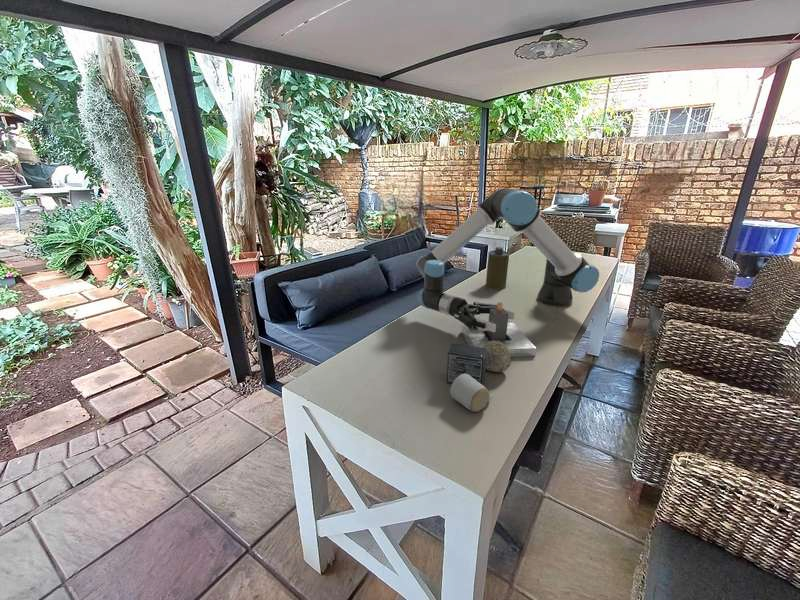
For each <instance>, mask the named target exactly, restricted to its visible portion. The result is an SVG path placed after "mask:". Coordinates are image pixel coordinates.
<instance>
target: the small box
mask: <svg viewBox="0 0 800 600" xmlns="http://www.w3.org/2000/svg"><path fill="white" fill-rule="evenodd" d="M486 352H487V348H481V347H474V346H469V345H468V344H460V343H451V344H450V347H449V348H448V350H447V368H446V372H447V373H446V380H445V381H446V382H445V383H446V384H449V385H452V383H453V381H454V380H455V379H456V378H457V377H458V376H459V375H461V374H468V375H470V376H471V377H472V378H474V379H475V380H476V381H478V382H479V383H480V384H482V385H483V386H484V382H485V373H486V369H485V364H486Z"/></svg>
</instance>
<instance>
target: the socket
mask: <svg viewBox="0 0 800 600" xmlns="http://www.w3.org/2000/svg"><path fill="white" fill-rule="evenodd" d="M487 332H488V330H485V329H482V328H479V327H477V326H476V329H473V326H472V328H468V327H467V326H466V325H465V324H461V334H462V335H463V337H464V339H465V340H466V342H467V345H468V346H474V347H481V348H483V346H484V345H485V344H486V343H487V342H488V341H489V340H488V339H487ZM530 340H531V339H529V338H528V337H527V336H526V335H525V333H523V332H522V331H521V329H520V328H519V327H518V326H517V325H516V324H515V322H508V325H507V334H506V341H499V342H501V343H503V344H504V345H505V346H506V347H507V348H508V349H509V351H510V355H511V358H516V357H517V358H519V357H520V358H521V357H535V356H536V353H537V347H536V346H535V345H534V344H533V343H532V341H530Z"/></svg>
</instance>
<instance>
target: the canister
mask: <svg viewBox="0 0 800 600" xmlns="http://www.w3.org/2000/svg"><path fill="white" fill-rule="evenodd" d="M487 254H488V255H487V268H486V277H485V287H486V288H487V289H492V290H503V289H505V288H506V287H507V278H508V269H509V263H510V261H509V259H510V255H511V254H510V253H509V252H508V251H504V249H503V247H501V246H500V247H498V246H497V247H495V249H494V250H490V251H488V253H487Z"/></svg>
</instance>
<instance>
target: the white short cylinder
mask: <svg viewBox="0 0 800 600" xmlns="http://www.w3.org/2000/svg"><path fill="white" fill-rule="evenodd" d="M450 385H451V386H450V388H449V391H450V392H449V394H450V397H451V398H452V399H454V400H455V401H456V402H458V403H459V404H460V405H462V406H463V407H465V408H466V409H467V410H469V411H471V412H474V413H476V412H480V411H481V410H483V409H484V408H485V407H486V405H487V404H488V402H490V401H491V399H492V395H491V393H490V392H489V390H488V389H487V388H486V386H485V385H484V384H483V385H482V384H480V383H479V382H478V381H476V380H475V379H474V378H472V377H471V376H470V375H468V374H461V375H459V376H458V377H457V378H456V379H455V380H454V381H453V383H452V384H450Z"/></svg>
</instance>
